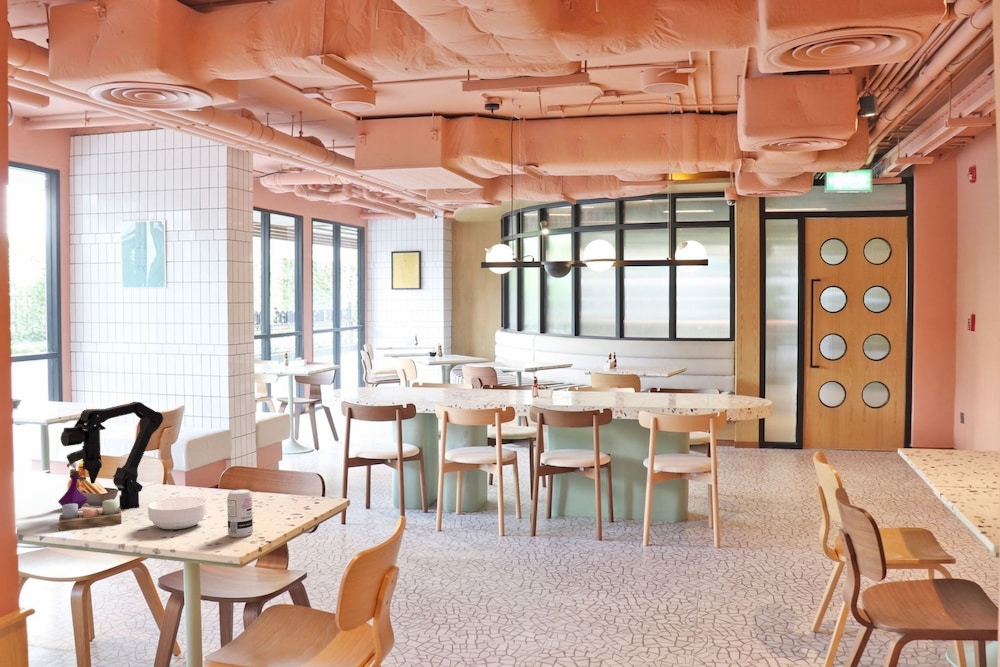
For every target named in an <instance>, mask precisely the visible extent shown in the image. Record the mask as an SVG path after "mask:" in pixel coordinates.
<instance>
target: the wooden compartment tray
mask: <svg viewBox="0 0 1000 667" xmlns="http://www.w3.org/2000/svg"><path fill="white" fill-rule="evenodd" d="M121 510H122V509H121V507H118V514H111V515H103V509H98V516H92V517H83V511H81V512H78V518H74V519H65V520H63V518H62V514H59V519H58V531H59V530H61V531H69V530H76V529H78V530H79V529H85V528H92V527H93V528H96V527H101V526H102V527H103V526H111V525H120V524H122V511H121Z"/></svg>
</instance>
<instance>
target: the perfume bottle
mask: <svg viewBox="0 0 1000 667" xmlns="http://www.w3.org/2000/svg"><path fill="white" fill-rule="evenodd" d="M70 466H71V467H72V468H74V470H72V471H71V472H70V473H71V475H69V478H70V479H71V482H70V485H69V487H68V489H67V491H66V492H65V493H64V495H63V496H62V497H61V498H60V499H59V500H58V504H59V505H60V506H61V507H62V506H63V505H65V504H72V503H76V504H78V509H80V508H82V507H83V506H85V504H86V502H87V501H88V499H89V498H88V497H87V496H86V495H84V494H83V493H82V492H81V491H80V490H79V489H78V486H77V485H78V480H79V479H80V478H81V477H82V474H80V472H81V471H80V470H77V469H76V468H77V463H76V462H74V463H73V464H70V463H69V462H68V463H67V464H66V467H67V469H69V468H70Z"/></svg>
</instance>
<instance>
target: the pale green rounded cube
mask: <svg viewBox="0 0 1000 667" xmlns="http://www.w3.org/2000/svg"><path fill="white" fill-rule="evenodd" d="M101 504H102V510H103V515H111V514H118V508H119V507H118V499H115V498H114V499H105V500H103V501H102V503H101Z"/></svg>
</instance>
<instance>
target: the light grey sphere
mask: <svg viewBox="0 0 1000 667" xmlns="http://www.w3.org/2000/svg"><path fill="white" fill-rule="evenodd" d="M61 508H62V510H61V511H62V518H63V520H65V519H74V518H78V513H79V508H78V504H76V503H72V504H65V505H63V506H61Z"/></svg>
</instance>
